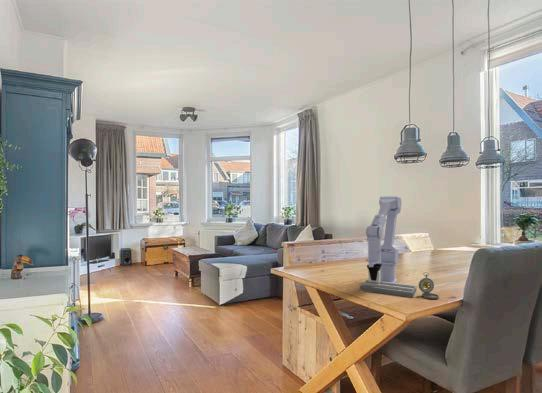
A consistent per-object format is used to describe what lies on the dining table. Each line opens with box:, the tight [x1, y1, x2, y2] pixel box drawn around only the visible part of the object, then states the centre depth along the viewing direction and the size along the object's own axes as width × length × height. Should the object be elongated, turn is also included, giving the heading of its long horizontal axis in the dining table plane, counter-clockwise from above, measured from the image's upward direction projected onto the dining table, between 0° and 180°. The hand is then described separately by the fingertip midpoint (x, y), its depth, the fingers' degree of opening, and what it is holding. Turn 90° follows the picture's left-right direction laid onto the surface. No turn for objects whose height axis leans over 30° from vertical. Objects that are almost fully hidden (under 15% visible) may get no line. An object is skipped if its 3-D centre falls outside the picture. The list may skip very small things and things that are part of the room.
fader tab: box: [368, 271, 381, 284], centre depth 161 cm, size 4×5×6 cm
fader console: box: [359, 279, 417, 298], centre depth 158 cm, size 12×23×3 cm, turn 60°
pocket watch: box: [418, 272, 440, 300], centre depth 148 cm, size 8×8×10 cm
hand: (374, 279), depth 161 cm, fingers closed on fader tab, 2 cm apart
